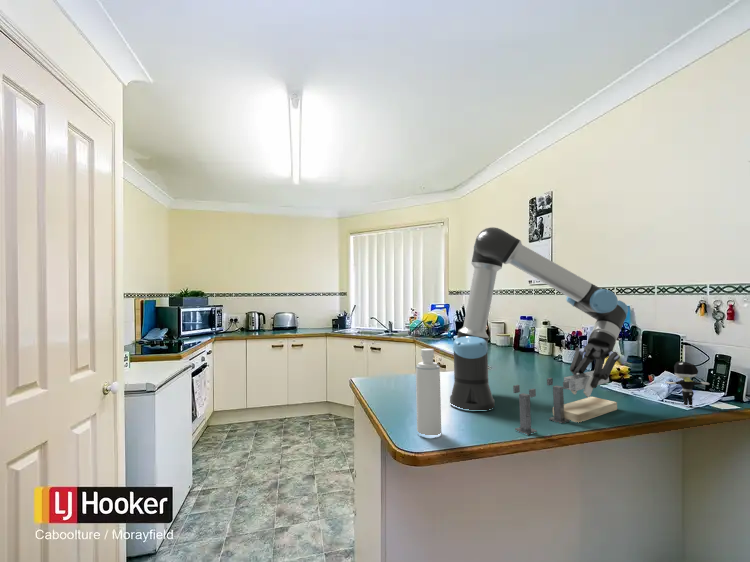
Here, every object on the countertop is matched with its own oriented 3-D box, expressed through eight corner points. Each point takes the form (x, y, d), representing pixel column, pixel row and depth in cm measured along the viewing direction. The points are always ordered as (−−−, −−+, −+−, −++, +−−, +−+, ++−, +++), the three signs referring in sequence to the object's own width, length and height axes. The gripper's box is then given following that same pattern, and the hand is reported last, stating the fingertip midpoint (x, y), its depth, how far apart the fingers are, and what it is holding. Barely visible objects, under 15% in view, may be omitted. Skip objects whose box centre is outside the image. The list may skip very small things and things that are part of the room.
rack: (512, 429, 96) (510, 386, 97) (554, 416, 106) (552, 377, 107) (530, 436, 91) (528, 390, 92) (572, 422, 101) (570, 380, 102)
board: (552, 415, 108) (552, 407, 108) (591, 403, 119) (591, 396, 119) (578, 422, 101) (578, 414, 101) (617, 409, 112) (616, 402, 112)
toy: (701, 404, 117) (698, 360, 117) (717, 409, 111) (714, 363, 111) (659, 403, 118) (657, 360, 119) (673, 409, 112) (670, 363, 113)
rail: (564, 388, 107) (563, 377, 107) (597, 380, 117) (597, 369, 117) (575, 391, 104) (574, 379, 104) (609, 382, 114) (608, 371, 114)
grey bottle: (423, 427, 98) (421, 341, 100) (445, 432, 95) (443, 343, 96) (412, 435, 93) (411, 344, 94) (435, 441, 89) (432, 345, 91)
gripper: (635, 346, 111) (613, 407, 102) (583, 342, 125) (559, 394, 116) (626, 331, 109) (602, 391, 99) (574, 328, 123) (549, 380, 114)
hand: (579, 393), depth 108 cm, fingers closed on rail, 3 cm apart
